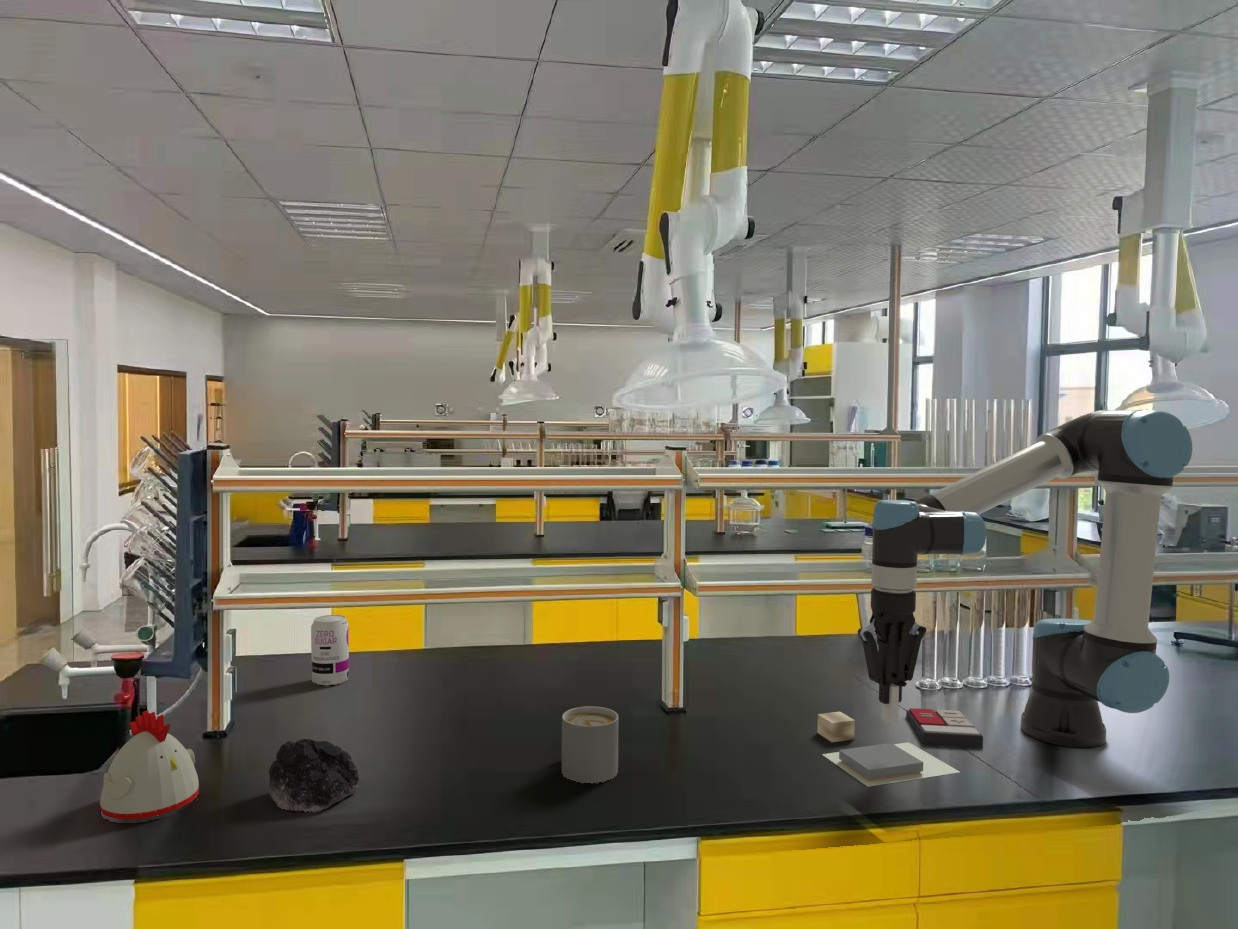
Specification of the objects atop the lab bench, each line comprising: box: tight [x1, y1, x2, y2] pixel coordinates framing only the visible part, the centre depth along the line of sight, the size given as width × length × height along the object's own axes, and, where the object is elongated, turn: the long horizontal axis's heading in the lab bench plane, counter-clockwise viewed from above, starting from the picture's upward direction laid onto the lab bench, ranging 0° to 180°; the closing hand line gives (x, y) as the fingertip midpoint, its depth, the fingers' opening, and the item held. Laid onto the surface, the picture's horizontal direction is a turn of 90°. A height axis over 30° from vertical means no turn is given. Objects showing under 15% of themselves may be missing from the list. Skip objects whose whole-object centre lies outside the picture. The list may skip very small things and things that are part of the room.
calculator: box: [905, 707, 984, 749], centre depth 166 cm, size 11×4×15 cm
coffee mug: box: [561, 705, 619, 785], centre depth 150 cm, size 13×10×10 cm
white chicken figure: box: [99, 709, 200, 819], centre depth 134 cm, size 14×14×15 cm
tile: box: [838, 742, 923, 781], centre depth 148 cm, size 2×9×11 cm
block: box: [817, 711, 856, 743], centre depth 163 cm, size 5×5×5 cm
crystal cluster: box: [268, 737, 360, 813], centre depth 138 cm, size 13×14×10 cm
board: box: [821, 742, 961, 787], centre depth 150 cm, size 19×14×1 cm
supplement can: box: [310, 614, 350, 685], centre depth 196 cm, size 8×8×15 cm
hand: (889, 720), depth 148 cm, fingers closed
